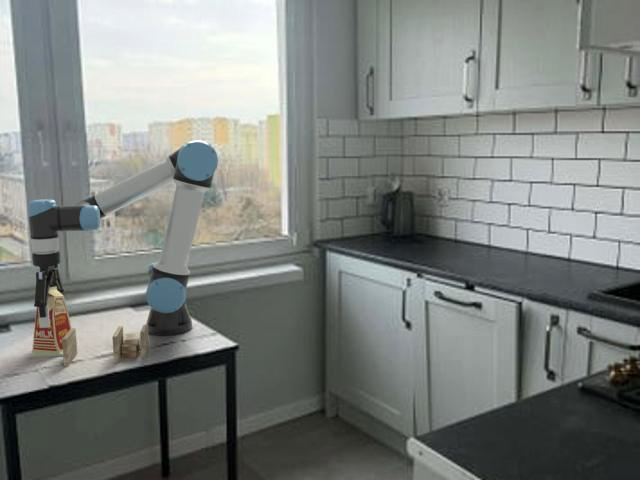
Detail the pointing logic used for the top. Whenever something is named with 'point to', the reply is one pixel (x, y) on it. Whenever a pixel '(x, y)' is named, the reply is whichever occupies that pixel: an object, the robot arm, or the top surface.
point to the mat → (44, 354)
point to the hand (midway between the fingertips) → (51, 320)
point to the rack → (118, 341)
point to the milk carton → (52, 325)
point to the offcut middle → (130, 348)
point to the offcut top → (131, 339)
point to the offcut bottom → (131, 354)
